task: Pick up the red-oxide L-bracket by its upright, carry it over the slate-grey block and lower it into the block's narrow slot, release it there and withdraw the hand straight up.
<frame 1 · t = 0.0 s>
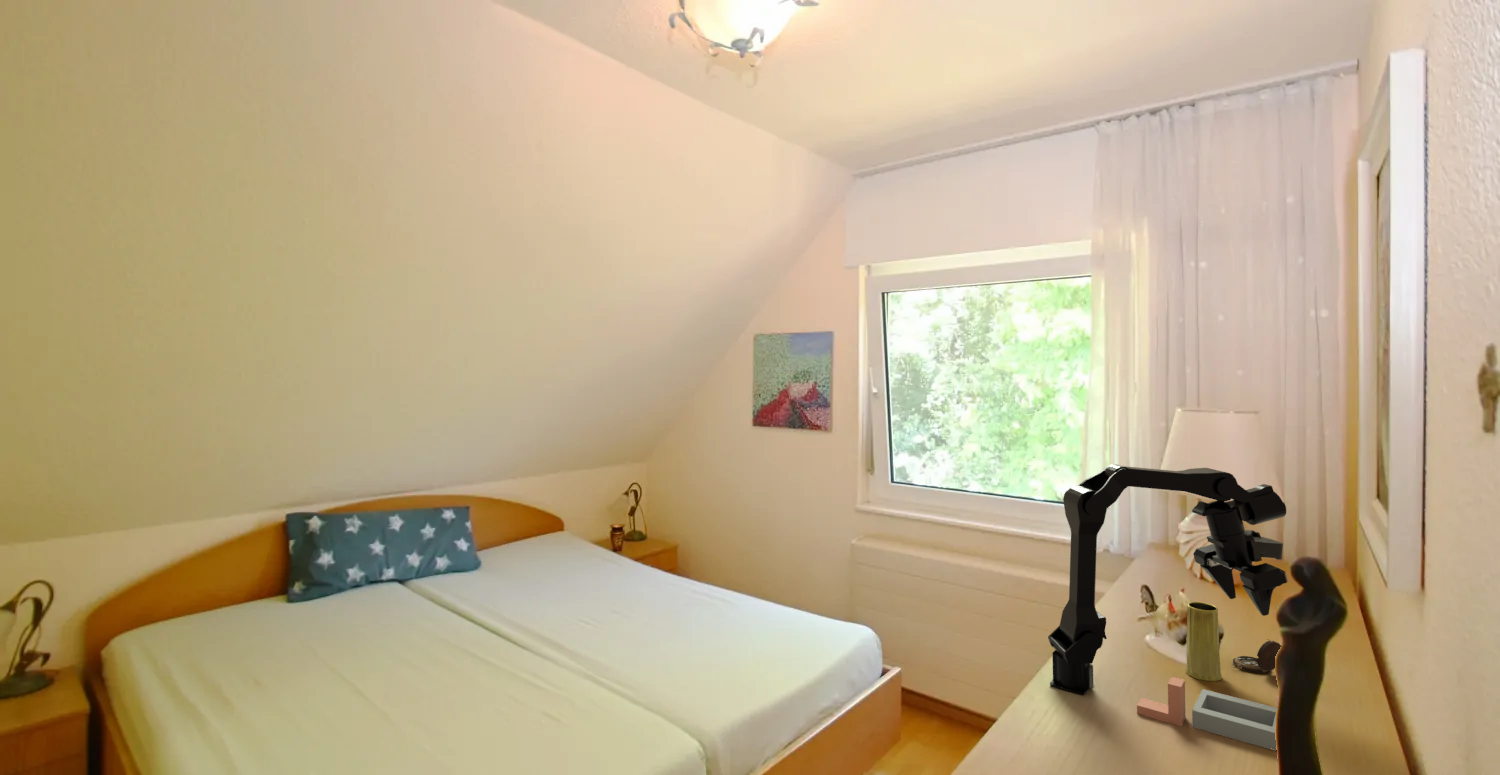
hand: (1248, 606, 132), 15 cm above the table, tool pointing down, fingers open, 9 cm apart
bracket: (1161, 715, 122), on the table
compass: (1251, 670, 138), on the table
well block: (1238, 726, 117), on the table
vase: (1203, 676, 136), on the table
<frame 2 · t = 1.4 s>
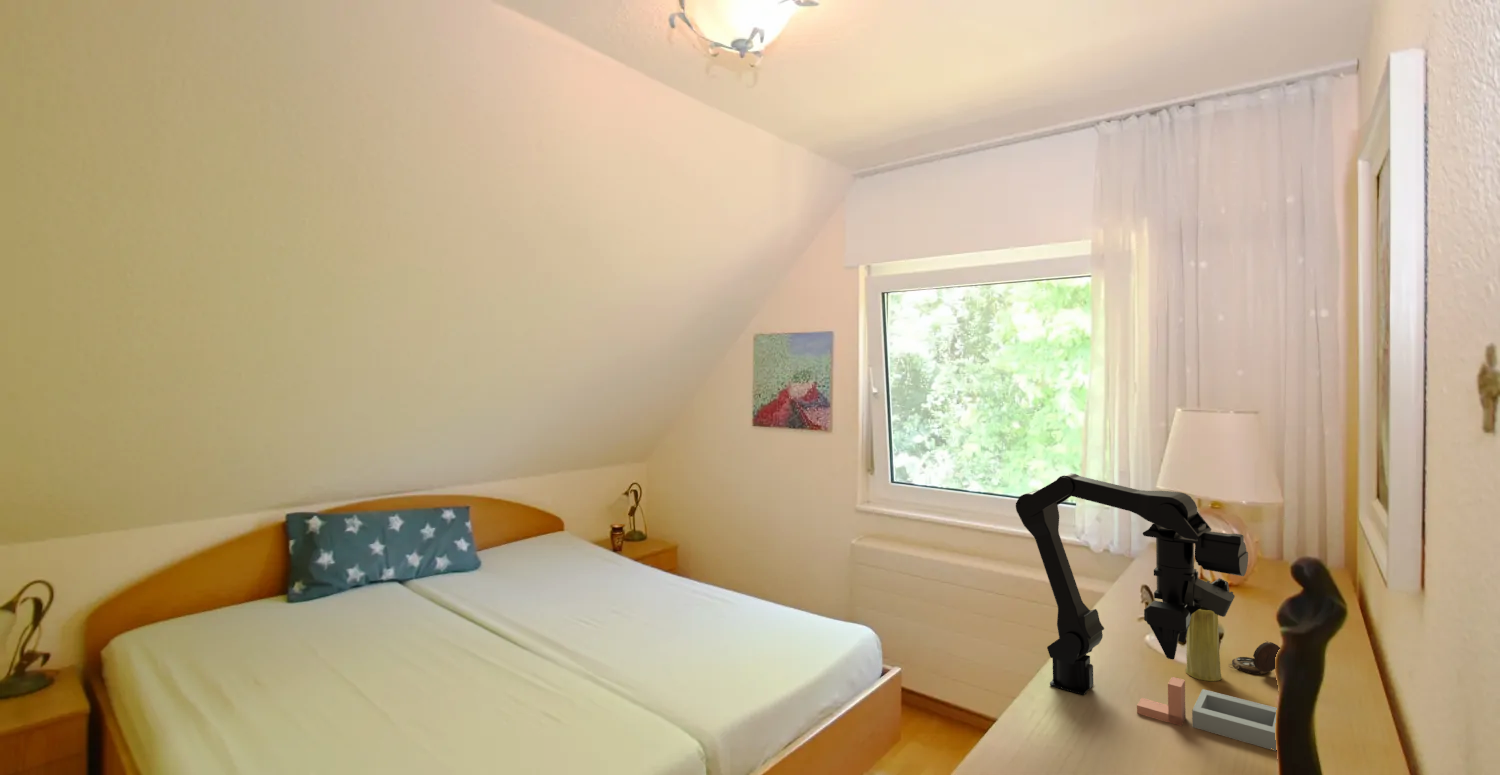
hand: (1176, 650, 120), 13 cm above the table, tool pointing down, fingers open, 9 cm apart
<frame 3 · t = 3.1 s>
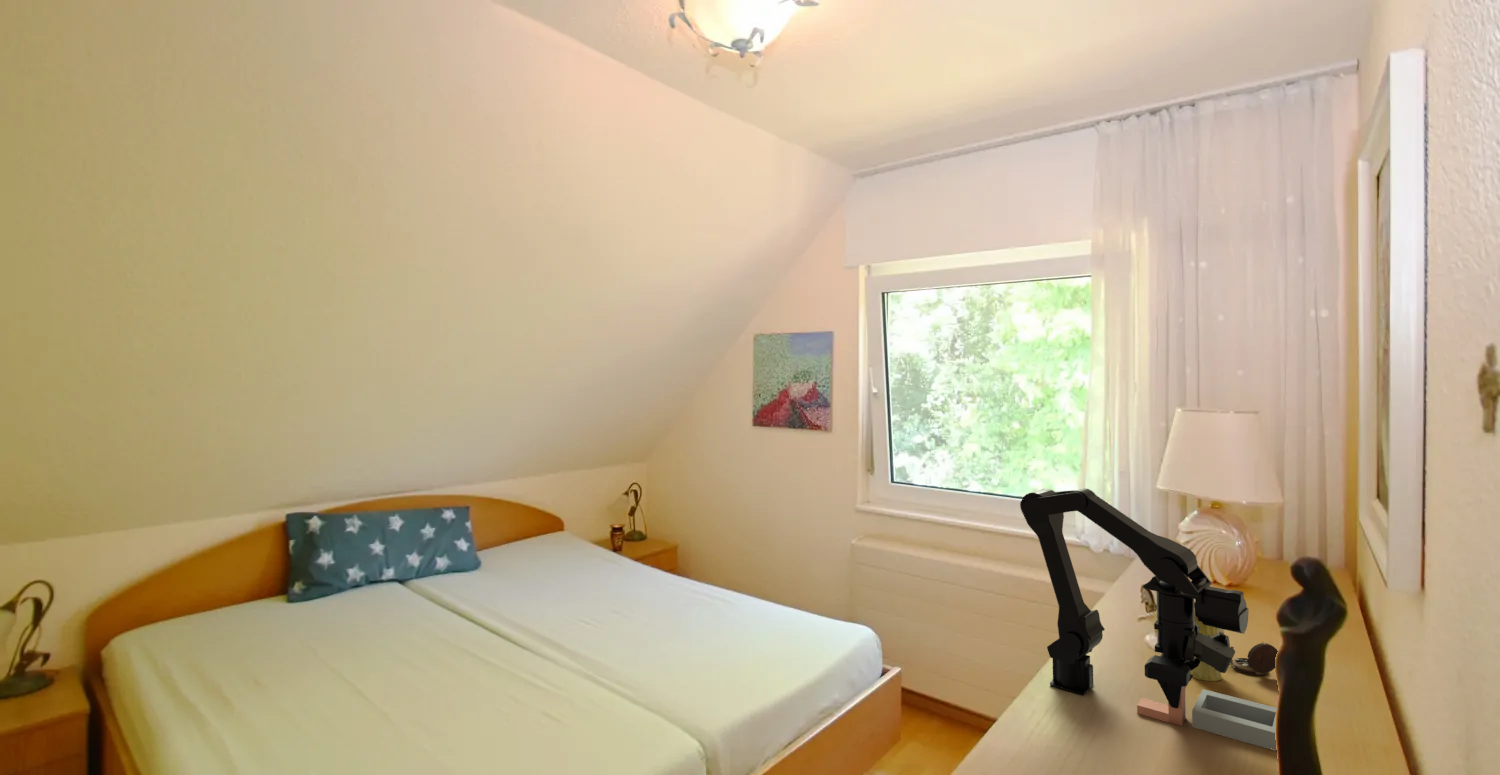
hand: (1176, 703, 120), 3 cm above the table, tool pointing down, fingers closed on bracket, 3 cm apart
bracket: (1161, 715, 122), on the table, touching gripper
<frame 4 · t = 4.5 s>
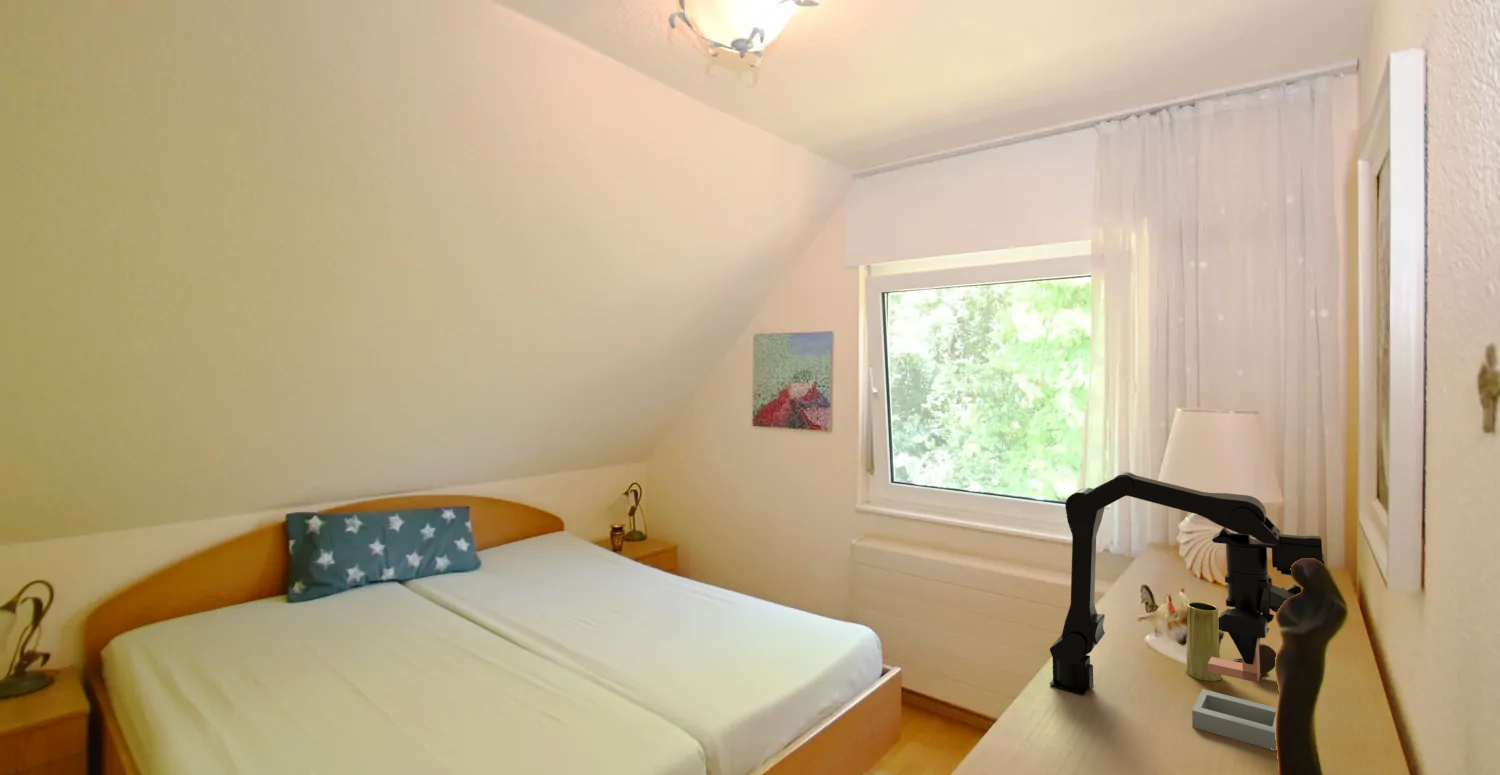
hand: (1250, 660, 115), 13 cm above the table, tool pointing down, fingers closed on bracket, 3 cm apart
bracket: (1233, 673, 117), point 10 cm above the table, touching gripper
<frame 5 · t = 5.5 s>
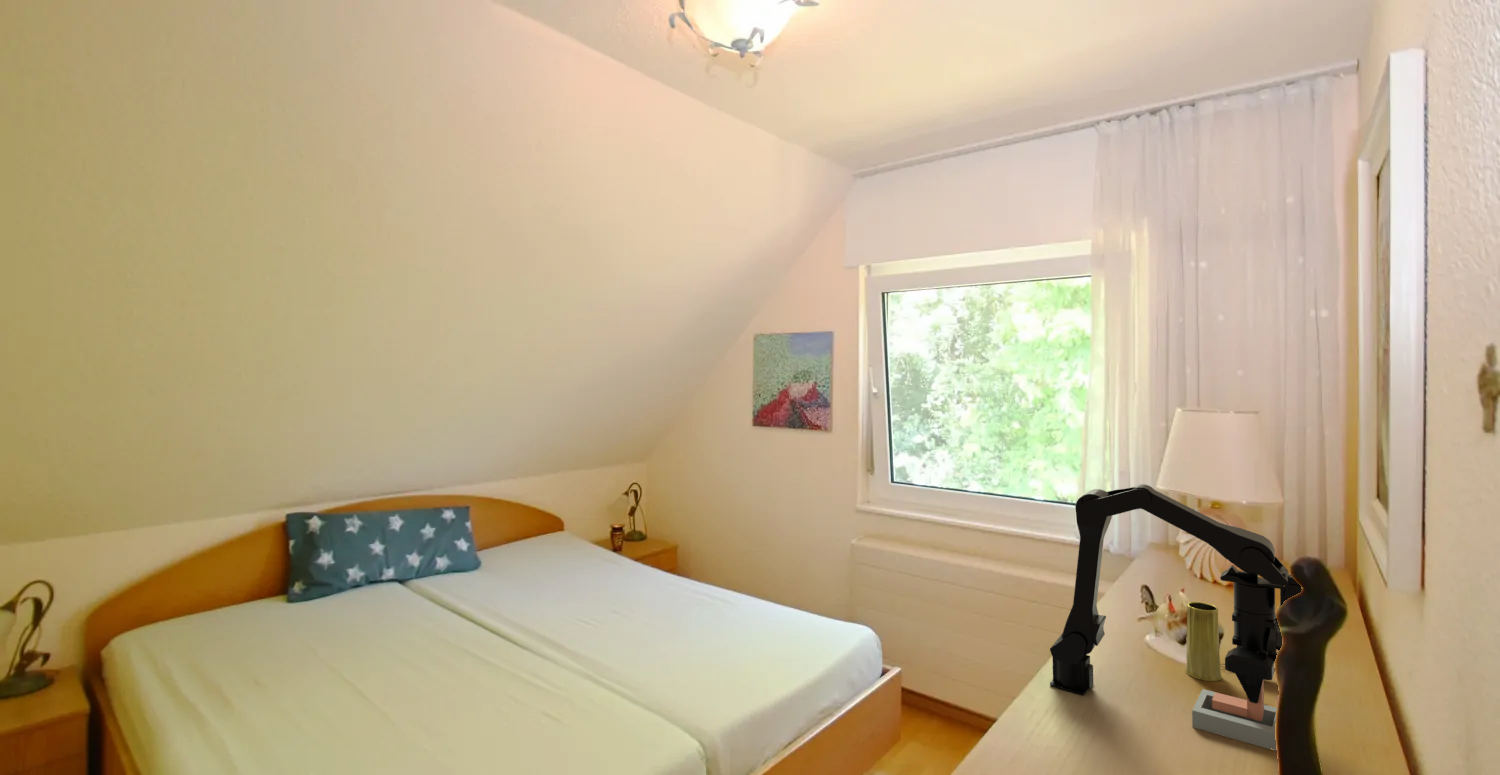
hand: (1255, 698, 115), 6 cm above the table, tool pointing down, fingers closed on bracket, 3 cm apart
bracket: (1237, 710, 117), point 3 cm above the table, touching gripper
when the fingers open (4 cm above the table, at t = 6.0 s): bracket drops 1 cm, resting in well block.
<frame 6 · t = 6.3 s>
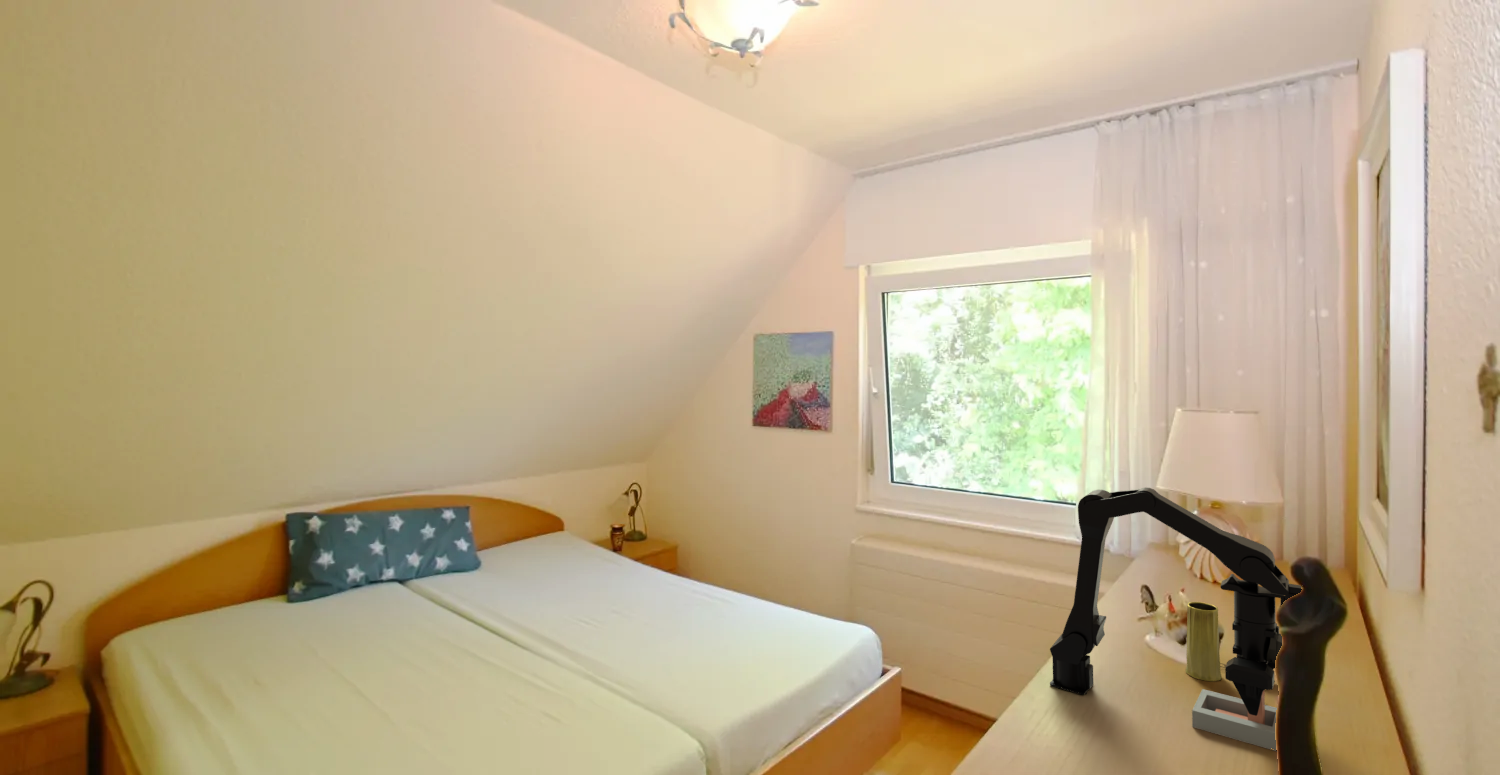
hand: (1255, 707, 115), 4 cm above the table, tool pointing down, fingers open, 6 cm apart
bracket: (1238, 727, 117), resting in well block
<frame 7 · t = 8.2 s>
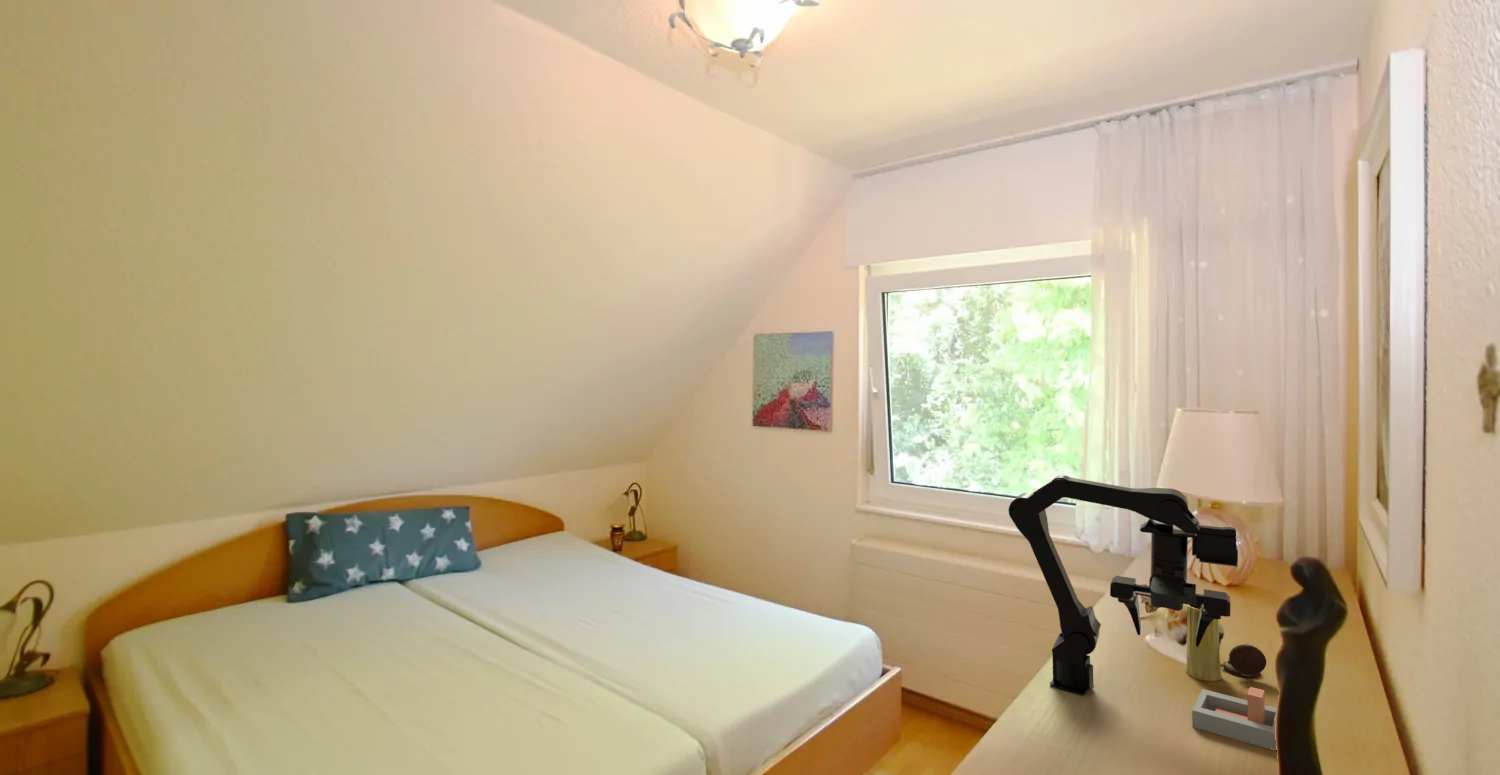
hand: (1167, 640, 125), 12 cm above the table, tool pointing down, fingers open, 9 cm apart
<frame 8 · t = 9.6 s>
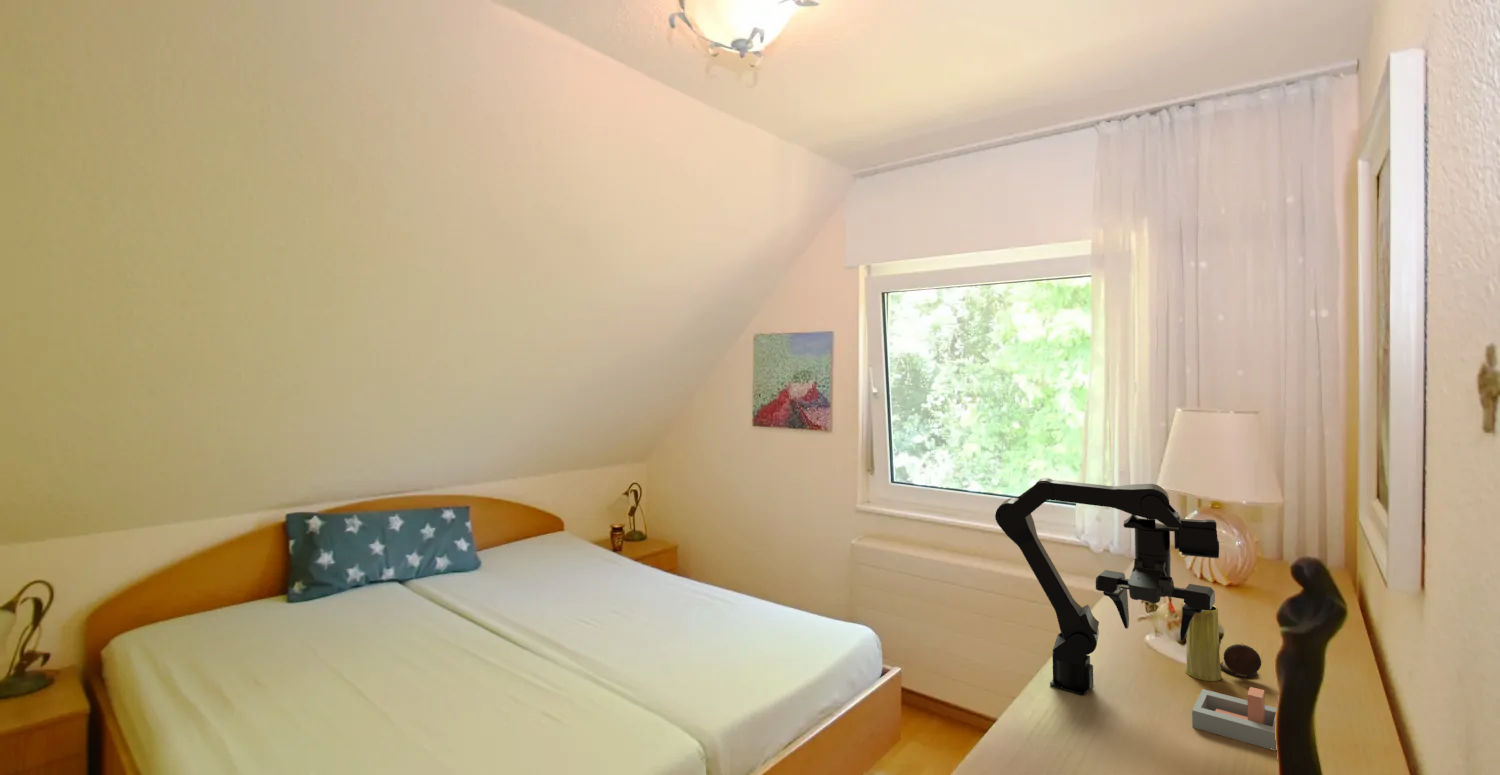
hand: (1153, 633, 126), 13 cm above the table, tool pointing down, fingers open, 9 cm apart
at the end: bracket 0.1 cm off-centre on the well block, point 0.0 cm above the well block's base; bracket tilted 0°; the gripper is holding nothing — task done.
